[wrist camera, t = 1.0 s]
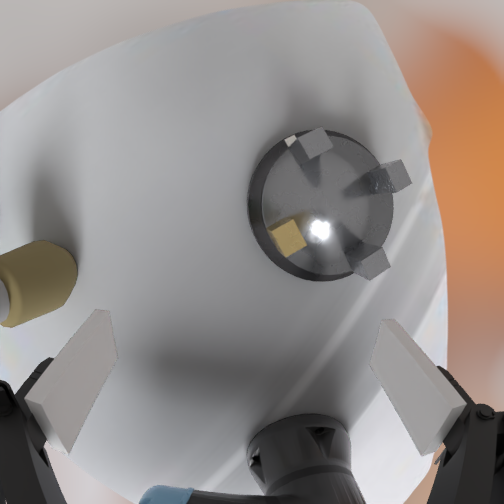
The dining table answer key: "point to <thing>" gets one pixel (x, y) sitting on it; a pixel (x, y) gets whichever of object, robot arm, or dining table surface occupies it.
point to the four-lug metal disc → (331, 205)
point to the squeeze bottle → (34, 281)
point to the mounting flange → (256, 215)
